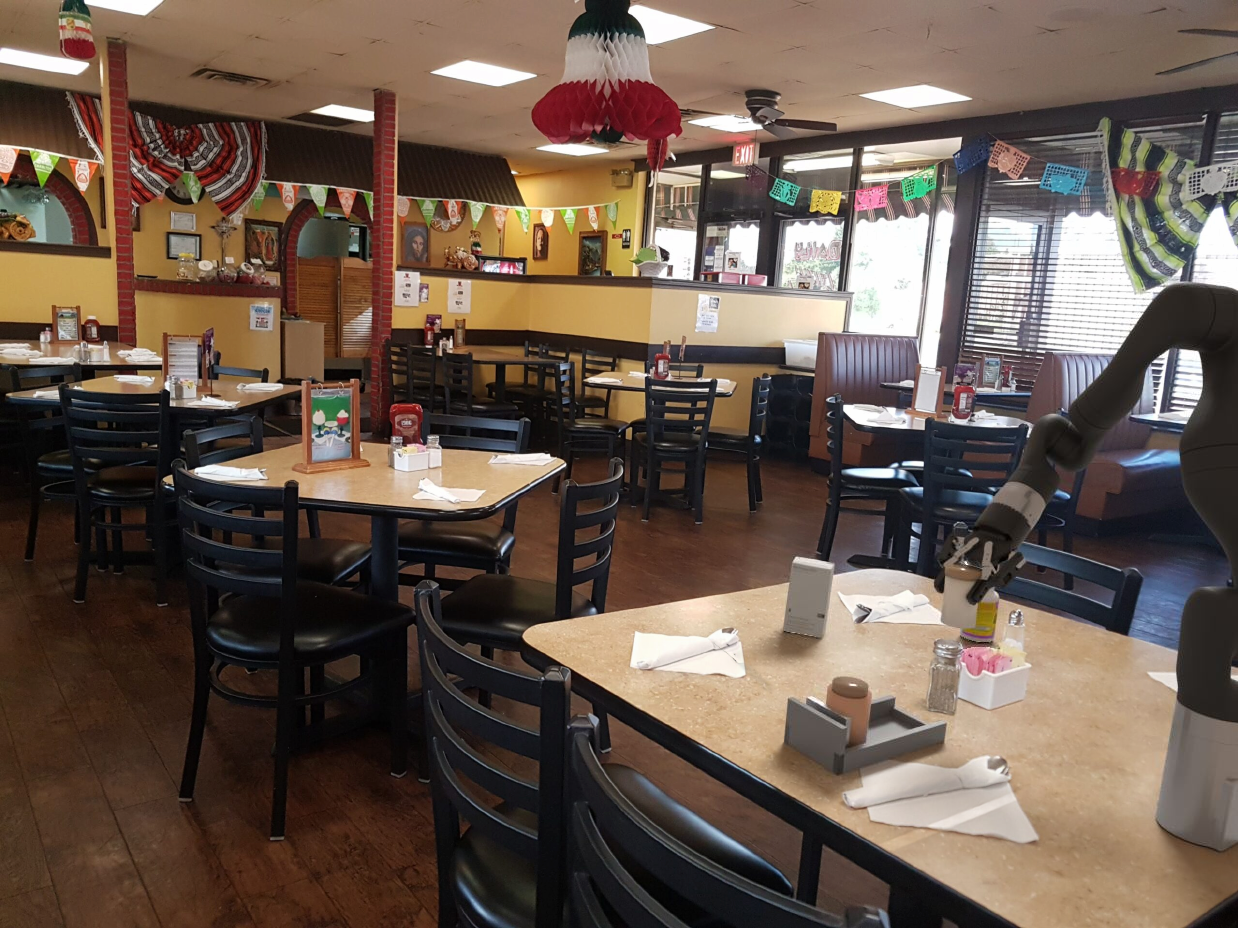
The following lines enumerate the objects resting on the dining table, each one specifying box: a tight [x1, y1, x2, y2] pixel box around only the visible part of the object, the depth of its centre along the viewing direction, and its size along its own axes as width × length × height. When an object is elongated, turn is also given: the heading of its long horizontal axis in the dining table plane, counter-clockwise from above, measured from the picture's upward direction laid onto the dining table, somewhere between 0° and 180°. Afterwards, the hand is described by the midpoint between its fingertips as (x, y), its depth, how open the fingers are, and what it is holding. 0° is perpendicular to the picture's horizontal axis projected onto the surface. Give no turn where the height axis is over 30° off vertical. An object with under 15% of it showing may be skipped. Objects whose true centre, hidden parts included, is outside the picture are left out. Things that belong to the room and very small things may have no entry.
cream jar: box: [940, 563, 983, 629], centre depth 146 cm, size 6×6×9 cm
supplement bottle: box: [959, 587, 1000, 643], centre depth 190 cm, size 7×7×13 cm
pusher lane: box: [783, 694, 948, 776], centre depth 140 cm, size 11×23×8 cm, turn 123°
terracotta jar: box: [825, 675, 873, 748], centre depth 137 cm, size 6×6×10 cm
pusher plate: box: [805, 695, 851, 749], centre depth 135 cm, size 8×2×7 cm, turn 33°
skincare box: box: [782, 556, 836, 639], centre depth 188 cm, size 8×6×15 cm
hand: (953, 595), depth 145 cm, fingers closed on cream jar, 5 cm apart
